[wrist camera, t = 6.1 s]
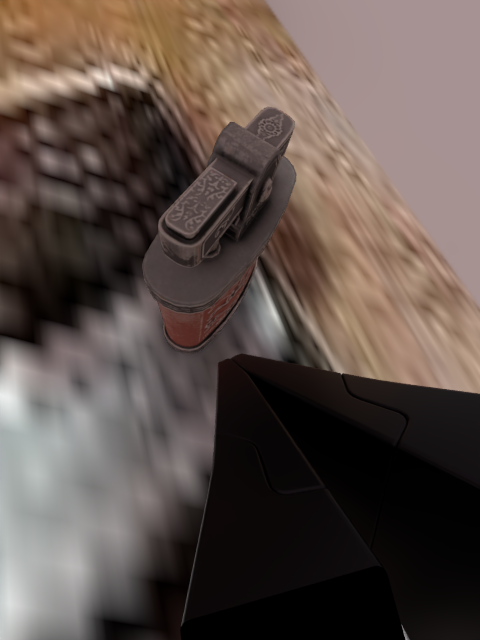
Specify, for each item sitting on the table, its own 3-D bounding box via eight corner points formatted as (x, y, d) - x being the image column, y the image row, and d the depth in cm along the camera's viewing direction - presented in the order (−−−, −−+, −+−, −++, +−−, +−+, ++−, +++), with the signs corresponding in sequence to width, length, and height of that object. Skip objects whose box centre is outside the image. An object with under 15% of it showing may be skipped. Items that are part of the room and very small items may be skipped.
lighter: (223, 239, 18) (259, 53, 8) (265, 265, 18) (348, 106, 8) (150, 333, 15) (82, 210, 6) (200, 365, 15) (216, 293, 6)
